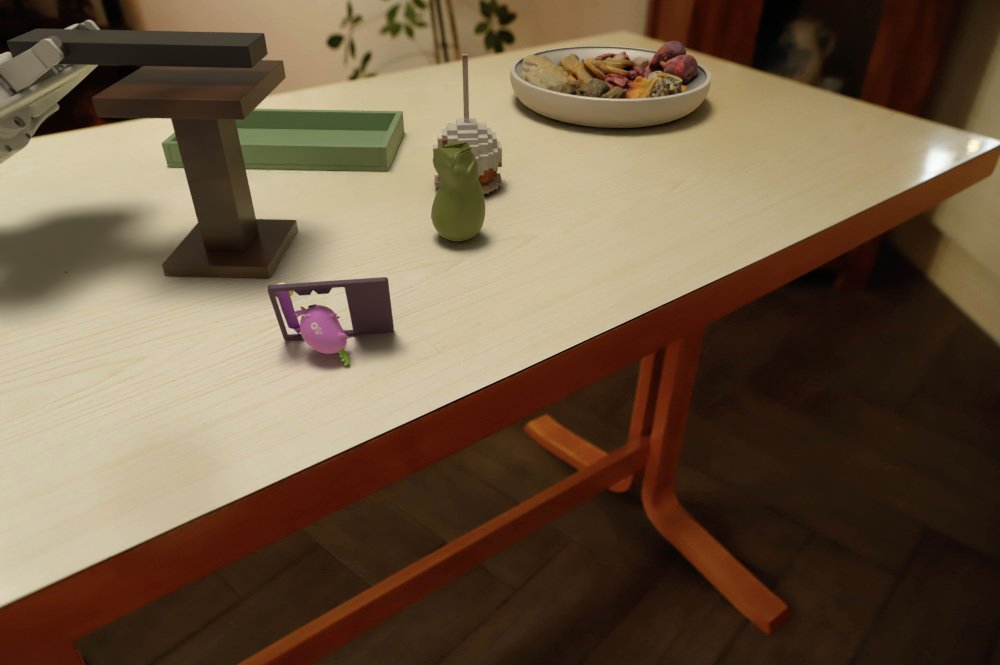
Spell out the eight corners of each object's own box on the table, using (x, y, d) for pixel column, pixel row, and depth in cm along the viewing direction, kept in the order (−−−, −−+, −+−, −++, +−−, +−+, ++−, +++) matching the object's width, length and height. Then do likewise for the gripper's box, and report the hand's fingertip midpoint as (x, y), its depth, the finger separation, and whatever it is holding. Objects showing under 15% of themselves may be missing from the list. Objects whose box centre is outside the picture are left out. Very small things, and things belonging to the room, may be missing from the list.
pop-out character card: (387, 269, 56) (267, 277, 55) (390, 323, 53) (263, 333, 52) (393, 321, 61) (284, 329, 60) (396, 373, 58) (282, 382, 57)
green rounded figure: (494, 242, 74) (494, 147, 68) (449, 255, 71) (445, 158, 66) (466, 221, 78) (464, 130, 72) (423, 233, 75) (417, 140, 69)
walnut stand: (149, 281, 67) (90, 97, 57) (198, 223, 77) (155, 58, 67) (277, 284, 67) (239, 100, 57) (310, 225, 77) (283, 60, 67)
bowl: (583, 150, 95) (588, 90, 90) (475, 91, 116) (474, 39, 112) (748, 114, 107) (759, 59, 103) (623, 66, 128) (628, 19, 124)
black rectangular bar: (14, 63, 60) (5, 40, 59) (43, 49, 64) (36, 28, 63) (252, 68, 59) (248, 45, 58) (268, 54, 63) (264, 32, 62)
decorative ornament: (434, 174, 88) (427, 46, 79) (497, 172, 89) (498, 45, 80) (435, 201, 82) (428, 65, 73) (503, 199, 82) (504, 63, 74)
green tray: (167, 167, 90) (161, 143, 88) (208, 129, 101) (203, 107, 99) (388, 171, 89) (385, 147, 87) (404, 133, 100) (402, 111, 98)
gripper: (-150, 124, 55) (-34, 31, 51) (9, 54, 72) (106, -21, 67) (-77, 191, 58) (38, 109, 54) (59, 109, 75) (155, 41, 70)
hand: (77, 36), depth 61 cm, fingers closed on black rectangular bar, 4 cm apart
